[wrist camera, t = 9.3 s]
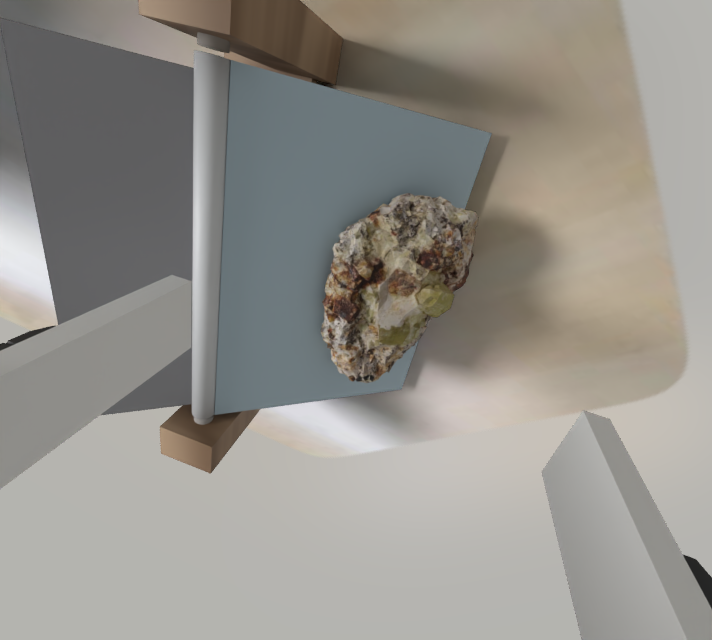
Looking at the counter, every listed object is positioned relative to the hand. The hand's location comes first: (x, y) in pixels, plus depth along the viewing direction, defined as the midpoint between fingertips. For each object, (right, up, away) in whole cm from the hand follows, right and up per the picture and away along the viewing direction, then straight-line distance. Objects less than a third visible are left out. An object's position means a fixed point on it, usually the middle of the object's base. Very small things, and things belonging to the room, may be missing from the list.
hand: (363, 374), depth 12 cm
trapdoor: (-6, +7, +11) cm, 15 cm away
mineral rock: (+1, +4, +8) cm, 9 cm away
